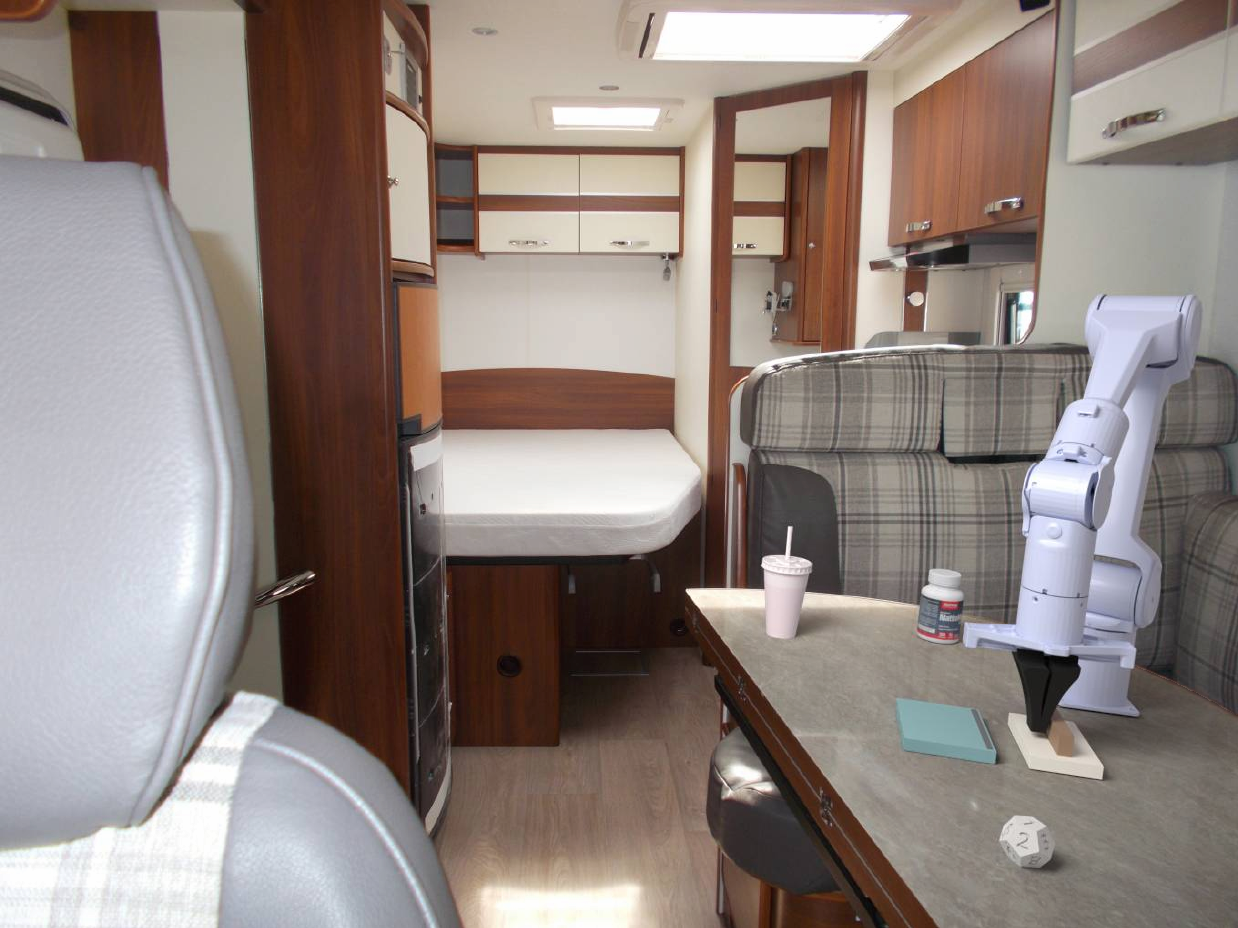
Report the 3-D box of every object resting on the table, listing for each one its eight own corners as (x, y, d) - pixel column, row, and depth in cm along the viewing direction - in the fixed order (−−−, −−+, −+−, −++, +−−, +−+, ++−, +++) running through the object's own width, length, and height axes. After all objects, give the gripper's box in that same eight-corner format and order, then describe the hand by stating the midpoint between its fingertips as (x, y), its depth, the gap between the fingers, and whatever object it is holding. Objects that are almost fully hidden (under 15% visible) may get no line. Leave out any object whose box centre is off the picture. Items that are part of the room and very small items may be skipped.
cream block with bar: (1007, 723, 90) (1011, 693, 89) (1071, 733, 89) (1076, 702, 88) (1029, 768, 80) (1034, 734, 80) (1102, 779, 79) (1106, 745, 78)
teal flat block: (895, 708, 92) (896, 696, 92) (976, 720, 91) (978, 708, 90) (903, 750, 83) (904, 736, 82) (994, 764, 81) (996, 750, 81)
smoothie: (806, 629, 117) (816, 525, 115) (805, 645, 111) (815, 535, 109) (757, 623, 118) (766, 520, 116) (753, 638, 112) (762, 529, 110)
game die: (987, 850, 67) (991, 812, 66) (1027, 844, 68) (1032, 807, 67) (1021, 877, 63) (1026, 838, 63) (1062, 871, 64) (1068, 832, 64)
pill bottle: (938, 646, 113) (946, 579, 112) (907, 633, 118) (915, 568, 117) (967, 642, 116) (975, 576, 115) (936, 629, 120) (943, 566, 119)
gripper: (978, 590, 80) (961, 733, 82) (1155, 611, 77) (1133, 759, 79) (966, 572, 87) (951, 704, 89) (1129, 590, 84) (1109, 726, 86)
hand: (1035, 728), depth 85 cm, fingers closed
